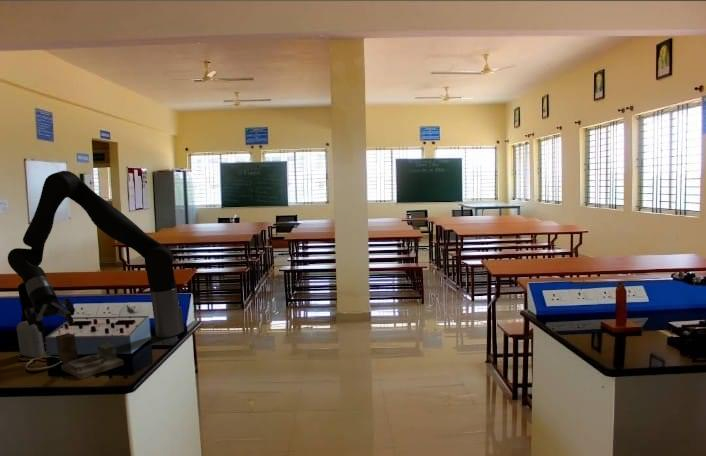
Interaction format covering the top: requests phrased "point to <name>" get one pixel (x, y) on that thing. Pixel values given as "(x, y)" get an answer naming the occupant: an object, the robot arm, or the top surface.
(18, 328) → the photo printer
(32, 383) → the top surface
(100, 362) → the base board
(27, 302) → the portable radio
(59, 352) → the walnut block
